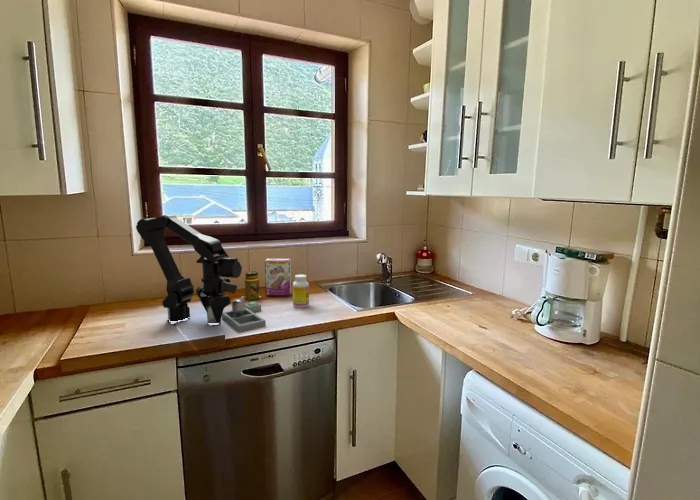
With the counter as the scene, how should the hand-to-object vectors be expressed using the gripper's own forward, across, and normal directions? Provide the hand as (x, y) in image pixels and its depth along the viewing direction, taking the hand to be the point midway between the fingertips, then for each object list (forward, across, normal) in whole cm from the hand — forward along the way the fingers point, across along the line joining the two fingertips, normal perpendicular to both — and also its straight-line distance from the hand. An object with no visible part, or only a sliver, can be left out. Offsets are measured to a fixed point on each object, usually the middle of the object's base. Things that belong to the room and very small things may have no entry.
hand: (213, 318), depth 135 cm
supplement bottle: (+3, +1, -36) cm, 36 cm away
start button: (+2, +6, -17) cm, 18 cm away
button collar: (+2, +6, -17) cm, 18 cm away
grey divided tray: (+2, -4, -9) cm, 10 cm away
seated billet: (+2, 0, -9) cm, 9 cm away
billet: (+2, 0, 0) cm, 3 cm away
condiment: (+3, +22, -23) cm, 32 cm away
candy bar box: (+3, +21, -36) cm, 42 cm away
